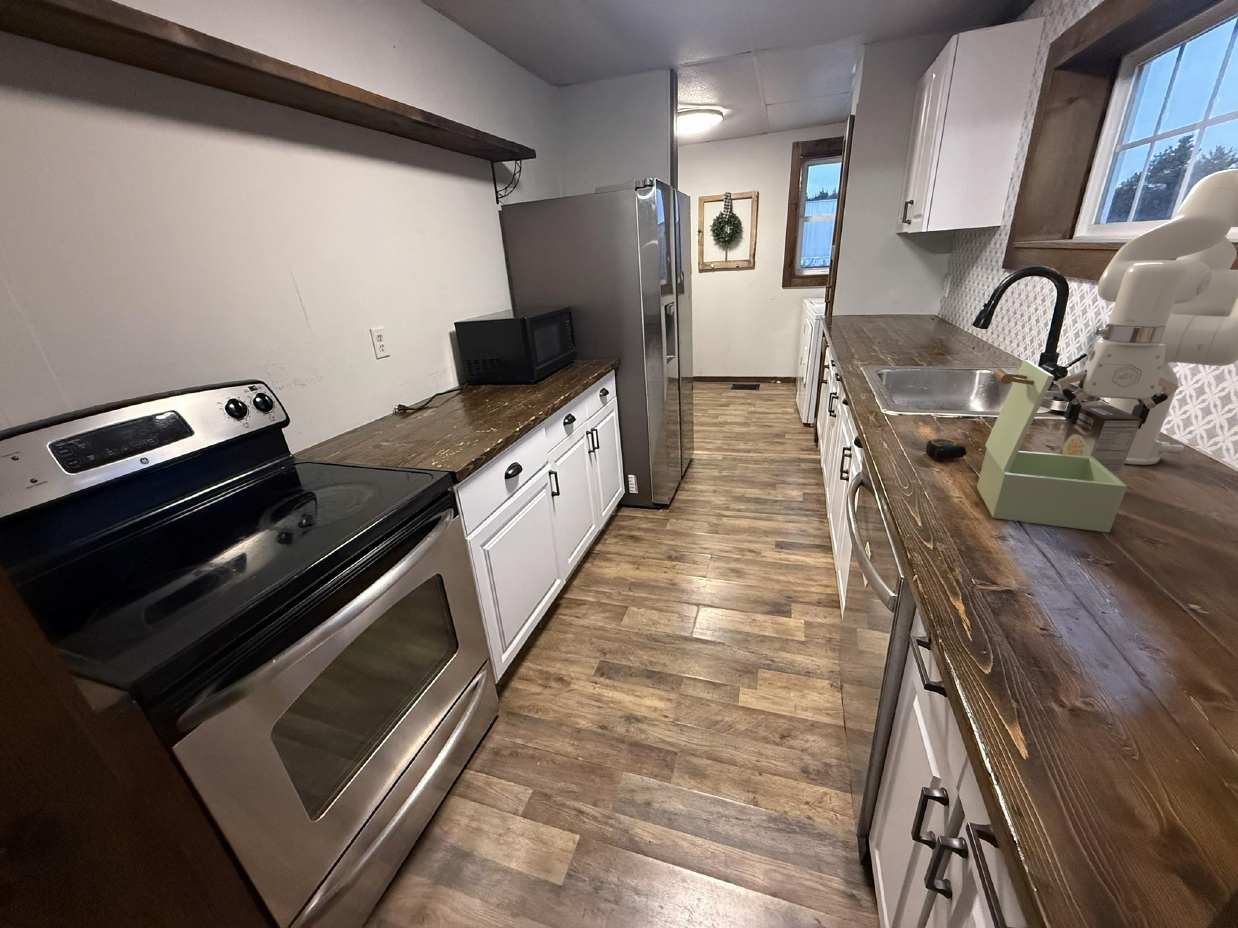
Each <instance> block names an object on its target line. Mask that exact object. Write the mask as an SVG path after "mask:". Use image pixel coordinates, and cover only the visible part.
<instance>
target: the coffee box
mask: <svg viewBox="0 0 1238 928" xmlns="http://www.w3.org/2000/svg"><path fill="white" fill-rule="evenodd" d="M1141 420H1142V419H1140V418H1138V417H1136V416H1133V415H1131V414H1129V413H1127V412H1124V411H1122V410H1120V409H1118V408H1115V407H1113V406H1111V405H1109V404H1098V405H1097V404H1096V405H1094V404H1086V405H1085V404H1084V405H1083V404H1082V407H1081V410H1080V413H1079V416H1078V419H1077V423H1076V424H1070V423H1069V422H1068V425H1067V428H1066V429H1067V430H1066V432H1065V436H1064V438H1063V442H1062V445H1061V447H1060V451H1059V454H1064V455H1076V456H1088V457H1094V458H1095V459H1096V460H1097V461H1098V462H1099V463H1101V464H1102V465H1103V466H1104V467H1105V468H1106V469H1108V470H1109V471H1110V472H1111V473H1112V474H1113V475H1115V476H1116V477H1117V478H1118V479H1119V480H1120V476H1121V473H1122V471H1123V468H1124V465H1125V460H1126V458H1127V456H1128V453H1129V450H1130V448H1131V445H1132V442H1133V440H1134V437H1135V435H1136V432H1137V430H1138V427H1139V425H1140V422H1141Z"/></svg>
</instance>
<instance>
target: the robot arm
mask: <svg viewBox="0 0 1238 928" xmlns="http://www.w3.org/2000/svg"><path fill="white" fill-rule="evenodd" d="M1232 228H1238V168H1232V169H1226V170H1221V171H1217V172H1214V173H1212V174H1209V175H1207V176H1205V177H1204V178H1202V179H1201V180H1199V181H1198V182H1197V183H1196V184H1195V185H1194V186H1193V187H1192V188H1191V189H1190V191H1189V192H1188V194H1187V195H1186V197H1185V199H1184V200H1183V201H1182V203H1181V204H1180V206H1179V208H1178V209H1177V210H1176V212H1175V214H1174V215H1173V216H1172V218H1171V219H1170V221H1168V222H1166V223H1163V224H1161V225H1159V226H1156V227H1154V228H1152V229H1150V230H1148V231H1146V232H1144V233H1142V234H1140V235H1137V236H1136V237H1134V238H1133V239H1131V240H1129V241H1127V242H1126V243H1125V244H1124V245H1123V246H1121V247H1120V248H1119V249H1118V251H1117V252H1116V253H1115V255H1114V256H1113V257H1112V258H1111V260H1110V262H1109V263H1108V265H1107V266H1106V268H1105V269H1104V271H1103V272H1102V274H1101V276H1100V278H1099V280H1098V284H1097V294H1098V296H1099V297H1100V299H1101V300H1103V301H1106V302H1108V303H1114V305H1113V308H1112V311H1111V314H1110V317H1109V320H1108V323H1106V324H1105V327H1098V328H1096V330H1095V336H1100V337H1102V340H1098V341H1097V342H1096V344H1095V346H1094V348H1093V349H1092V350H1091V352H1090V355H1089V356H1088V359H1087V360H1086V362H1085V365H1084V367H1083V369H1082V371H1079V372H1077V373H1074V374H1071V375H1068V376H1064V377H1061V378H1059V379H1057V381H1056V382H1057V385H1058V389H1059V390H1060V394H1061V395H1062V396H1063V397H1064V398H1065V399H1066V400H1067V402H1068V403H1067V406H1066V409H1065V412H1064V417H1063V418H1064V419H1065V421H1066V422H1067V423H1068V424H1069V423H1070V424H1076V423H1077V419H1078V416H1079V413H1080V410H1081V407H1082V405H1083V404H1082V405H1081V402H1083V401H1085V400H1086V399H1088V398H1090V397H1094V398H1103V399H1105V398H1107V399H1110V400H1109V401H1108V405H1111V406H1113V407H1115V408H1118V409H1120V410H1122V411H1124V412H1127V413H1129V414H1131V415H1133V416H1136V417H1138V418H1140V419H1142V420H1141V422H1140V425H1139V427H1138V430H1137V432H1136V435H1135V437H1134V440H1133V442H1132V445H1131V448H1130V450H1129V453H1128V456H1127V458H1126V460H1125V463H1124V465H1125V464H1126V465H1138V466H1140V465H1141V466H1148V465H1155V464H1157V463H1159V462H1160V459H1161V456H1160V455H1159V454H1164V453H1169V454H1177V455H1181V454H1183V453H1184V451H1185V446H1184V445H1183V444H1170V442H1169V441H1160V440H1159V439H1158V438H1159V437H1160V433H1161V430H1162V428H1163V425H1164V423H1165V420H1166V417H1167V415H1168V413H1169V410H1170V407H1171V405H1172V402H1173V400H1174V397H1175V395H1176V392H1177V390H1178V389H1179V388H1180V387H1179V378H1178V376H1177V374H1176V373H1175V371H1174V369H1173V368H1172V366H1171V365H1170V363H1172V364H1173V363H1174V364H1177V363H1180V364H1190V365H1201V366H1213V367H1226V366H1229V365H1232V364H1236V363H1237V362H1238V269H1231V268H1232V266H1233V264H1234V262H1235V261H1236V258H1237V256H1238V252H1237V249H1236V247H1235V245H1234V244H1233V243H1232V242H1231V241H1230V239H1229V238H1228V237H1227V235H1228V233H1229V232H1230V230H1231V229H1232ZM1077 382H1078V383H1077ZM1073 383H1077V389H1076V390H1075V391H1072V390H1071V387H1070V385H1071V384H1073Z"/></svg>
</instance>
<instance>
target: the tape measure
mask: <svg viewBox="0 0 1238 928" xmlns="http://www.w3.org/2000/svg"><path fill="white" fill-rule="evenodd" d="M925 453H926V455H927V456H928V457H931V458H933V459H937V460H943V461H946V460H952V459H961V458H963V457H965V456H967V453H968V451H967V450H966V447H965V446H964V445H961V444H958V442H956V441H953V440H951V439H946V438H934V439H933V438H932V439H930V440H928V441H927V443H926V447H925Z"/></svg>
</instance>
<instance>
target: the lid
mask: <svg viewBox="0 0 1238 928" xmlns="http://www.w3.org/2000/svg"><path fill="white" fill-rule="evenodd" d="M993 375H994V377H995V378H996V379H997V380H998V381H1000V382H1001V383H1002V384H1003V385H1009V384H1011V383H1012V385H1011V387H1010V389H1009V391H1008V394H1007V396H1006V398H1005V400H1004V402H1003V404H1002V407H1001V409H1000V411H999V413H998V416H997V418H996V420H995V423H994V424H993V427H992V428H991V431H990V434H989V435H988V438H987V440H986V442H985V444H984V446H985V447H986V449H988V450H989V452H990V453H991V455H992V456H993V457H994V459H995V460H996V462H997V463H998V465H999V466H1000V468H1001V469H1002V470H1003V471H1004V472H1008V471H1009V469H1010V467H1011V465H1012V463H1013V461H1014V459H1015V457H1016V455H1017V453H1018V451H1020V449H1021V446H1022V445H1023V442H1024V441H1025V438H1026V436H1027V433H1028V432H1029V430H1030V428H1031V426H1032V424H1033V422H1034V420H1035V418H1036V415H1037V413H1038V411H1039V410H1040V407H1041V405H1042V403H1043V401H1044V399H1045V397H1046V395H1047V393H1048V391H1049V388H1050V386H1051V385H1052V383H1053V380H1054V378H1055V375H1053V374H1051V373H1050V372H1048V371H1047V370H1045V369H1043V368H1042V367H1040V366H1038V365H1037V364H1035V363H1034V362H1032V361H1031V360H1029V359H1023V360H1022V362H1021V365H1020V367H1019V369H1018V371H1017V373H1013V372H1009V371H1008V370H1007V369H1005V368H1002V367H999V368H997V369H995V370H994V373H993Z"/></svg>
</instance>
